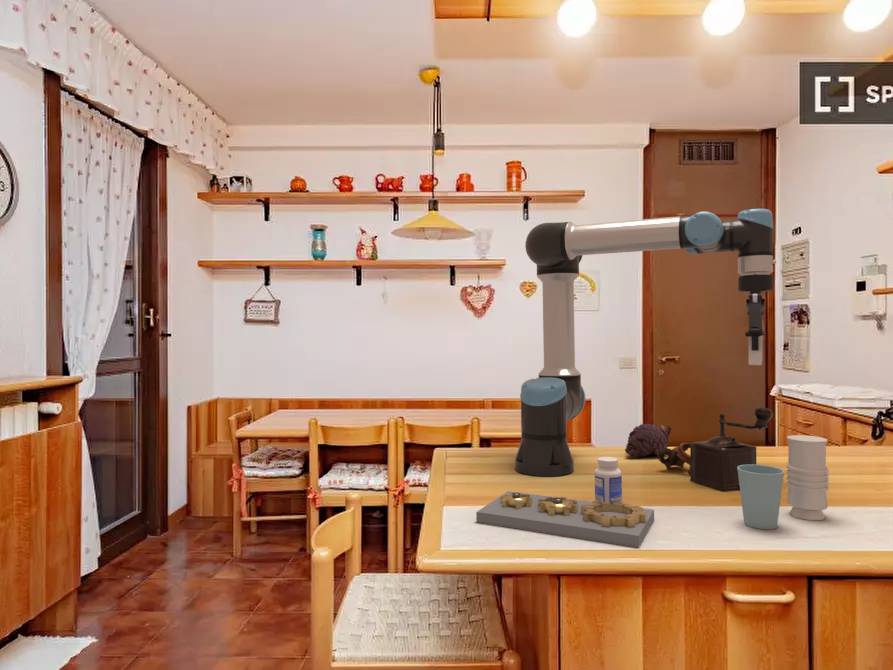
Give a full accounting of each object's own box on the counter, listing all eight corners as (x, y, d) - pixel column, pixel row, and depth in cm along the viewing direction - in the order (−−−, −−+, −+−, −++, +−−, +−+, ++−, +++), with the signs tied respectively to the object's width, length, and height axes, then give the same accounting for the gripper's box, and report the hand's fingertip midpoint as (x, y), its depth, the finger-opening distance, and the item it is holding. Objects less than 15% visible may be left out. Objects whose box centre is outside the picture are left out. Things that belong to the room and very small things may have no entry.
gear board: (476, 522, 115) (476, 511, 115) (508, 500, 129) (508, 491, 129) (638, 547, 101) (638, 535, 101) (654, 520, 115) (654, 509, 115)
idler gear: (495, 506, 118) (495, 495, 118) (507, 498, 124) (507, 488, 124) (525, 510, 115) (525, 499, 115) (536, 502, 121) (536, 491, 121)
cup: (729, 524, 112) (730, 468, 112) (748, 515, 117) (748, 462, 117) (773, 534, 106) (773, 476, 106) (790, 525, 111) (790, 469, 111)
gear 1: (532, 512, 114) (532, 501, 114) (545, 502, 121) (545, 491, 121) (571, 518, 110) (571, 506, 110) (582, 506, 117) (582, 496, 117)
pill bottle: (622, 502, 126) (622, 456, 126) (621, 510, 121) (620, 462, 121) (596, 500, 128) (595, 455, 128) (593, 507, 123) (593, 460, 123)
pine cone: (645, 463, 162) (624, 430, 165) (625, 473, 170) (606, 442, 174) (688, 439, 170) (668, 408, 173) (668, 450, 178) (649, 421, 182)
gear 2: (572, 522, 108) (572, 514, 108) (589, 504, 119) (589, 497, 118) (640, 531, 103) (640, 523, 103) (651, 512, 113) (651, 505, 113)
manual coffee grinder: (724, 492, 133) (724, 411, 133) (688, 481, 143) (688, 405, 143) (777, 485, 138) (777, 407, 138) (739, 474, 149) (738, 402, 149)
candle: (828, 523, 112) (828, 443, 112) (785, 517, 116) (785, 439, 115) (828, 513, 118) (828, 437, 118) (787, 508, 121) (787, 434, 121)
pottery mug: (691, 467, 159) (705, 443, 155) (702, 492, 150) (716, 467, 146) (648, 457, 158) (660, 432, 154) (656, 481, 150) (669, 455, 146)
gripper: (773, 269, 131) (773, 366, 132) (773, 277, 153) (773, 360, 154) (735, 271, 135) (735, 366, 135) (740, 278, 157) (740, 360, 157)
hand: (755, 363), depth 144 cm, fingers open, 13 cm apart
